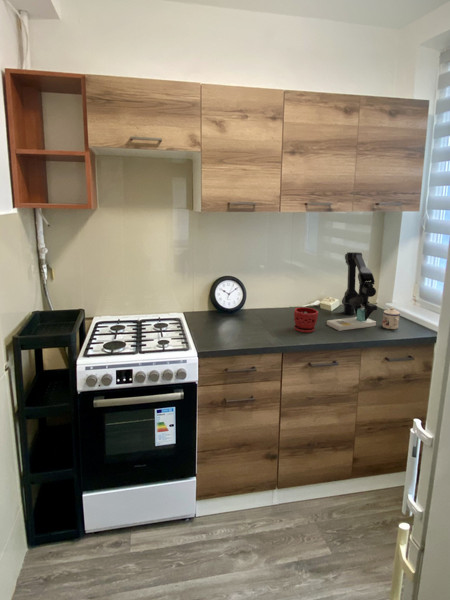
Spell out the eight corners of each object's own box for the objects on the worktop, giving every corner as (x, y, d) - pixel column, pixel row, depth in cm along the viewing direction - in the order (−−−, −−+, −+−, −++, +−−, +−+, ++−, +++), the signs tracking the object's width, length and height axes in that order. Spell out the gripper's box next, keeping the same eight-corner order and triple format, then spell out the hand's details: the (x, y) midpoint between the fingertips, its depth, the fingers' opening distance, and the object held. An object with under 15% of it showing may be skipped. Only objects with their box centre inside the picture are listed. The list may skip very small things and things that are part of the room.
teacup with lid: (378, 324, 249) (380, 306, 246) (393, 324, 250) (395, 305, 247) (389, 331, 237) (391, 311, 234) (404, 330, 238) (406, 311, 236)
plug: (356, 323, 251) (357, 307, 249) (361, 322, 253) (362, 307, 250) (360, 325, 248) (361, 309, 245) (365, 324, 249) (367, 308, 247)
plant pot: (298, 334, 230) (299, 313, 227) (290, 327, 243) (291, 307, 240) (320, 333, 233) (322, 312, 230) (311, 326, 245) (312, 306, 242)
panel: (326, 324, 248) (327, 320, 248) (362, 320, 258) (362, 316, 257) (339, 330, 238) (339, 326, 237) (375, 325, 247) (376, 321, 246)
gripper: (342, 290, 251) (340, 315, 255) (363, 297, 234) (360, 324, 238) (357, 289, 255) (355, 313, 259) (379, 295, 238) (376, 322, 242)
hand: (361, 318), depth 249 cm, fingers open, 7 cm apart
